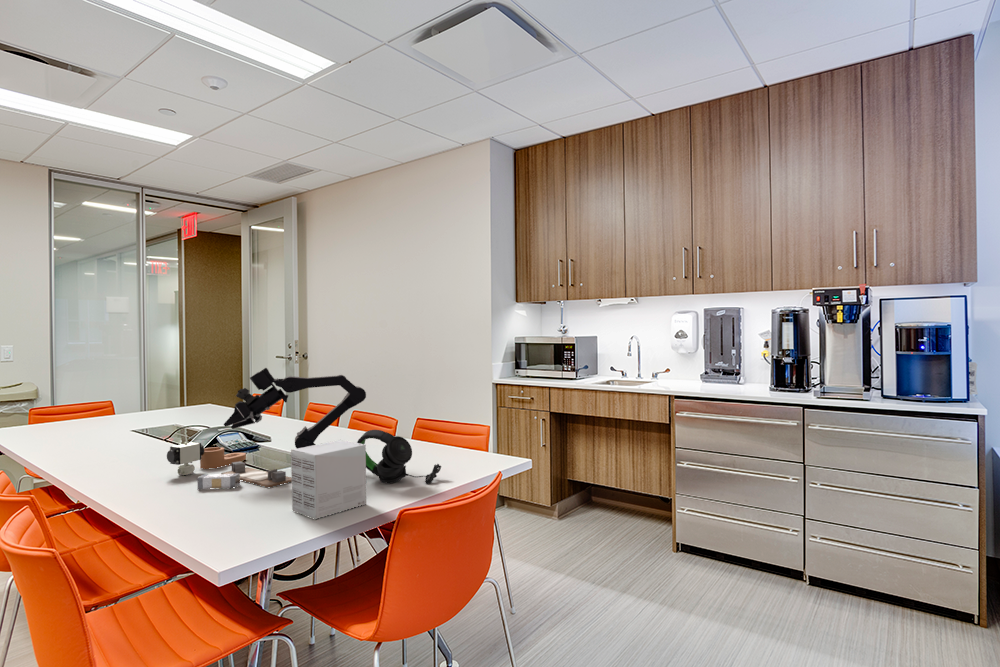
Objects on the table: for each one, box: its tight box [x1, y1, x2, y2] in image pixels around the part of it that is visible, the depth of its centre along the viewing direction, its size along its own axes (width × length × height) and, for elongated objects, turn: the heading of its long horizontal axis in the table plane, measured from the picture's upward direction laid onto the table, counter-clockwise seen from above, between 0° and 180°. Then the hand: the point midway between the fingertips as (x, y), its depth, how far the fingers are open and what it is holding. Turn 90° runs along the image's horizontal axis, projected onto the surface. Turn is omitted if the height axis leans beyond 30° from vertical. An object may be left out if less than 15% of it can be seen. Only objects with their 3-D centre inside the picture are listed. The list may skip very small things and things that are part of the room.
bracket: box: [199, 446, 247, 470], centre depth 216 cm, size 18×8×7 cm, turn 153°
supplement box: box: [290, 439, 367, 520], centre depth 159 cm, size 17×13×18 cm
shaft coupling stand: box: [220, 461, 292, 488], centre depth 193 cm, size 30×10×4 cm, turn 55°
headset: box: [356, 429, 442, 485], centre depth 187 cm, size 18×14×29 cm
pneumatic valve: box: [166, 441, 205, 476], centre depth 200 cm, size 6×12×12 cm, turn 155°
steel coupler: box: [196, 473, 241, 490], centre depth 182 cm, size 12×4×4 cm, turn 95°
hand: (228, 426), depth 195 cm, fingers open, 9 cm apart
